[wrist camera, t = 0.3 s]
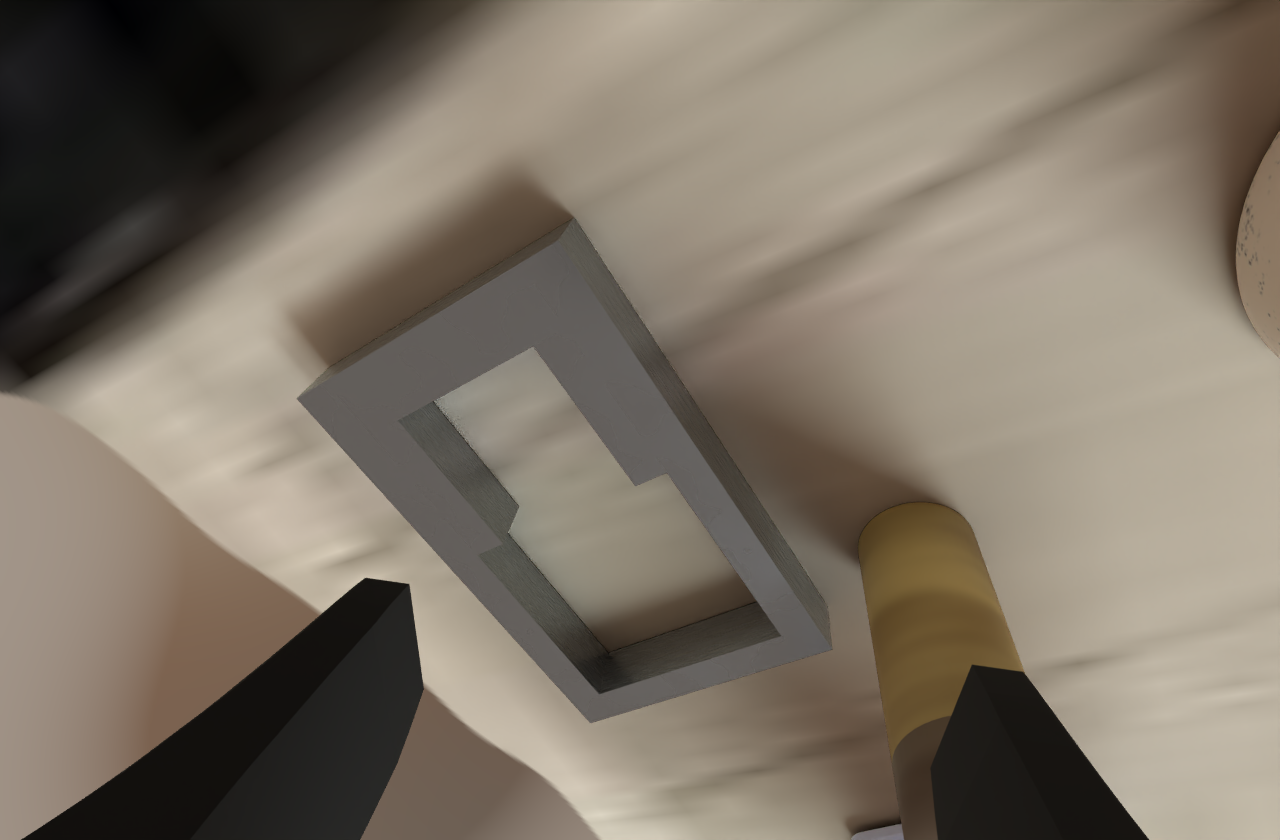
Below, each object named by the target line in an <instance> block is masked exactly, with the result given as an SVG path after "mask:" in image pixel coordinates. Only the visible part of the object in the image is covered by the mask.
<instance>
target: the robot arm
mask: <svg viewBox="0 0 1280 840" xmlns="http://www.w3.org/2000/svg"><path fill="white" fill-rule="evenodd" d="M423 690H424V687H423V680H422V673H421V665H420V658H419V651H418V644H417V636H416V629H415V622H414V615H413V607H412V600H411V593H410V586H409V584H405V583H398V582H391V581H384V580H377V579H370V578H365V579H363V580H362V581H361V582H359V583H358V584H357V585H355V586H354V587H353V588H352V589H351V590H349V591H348V592H347V593H346V594H345V595H343V596H342V597H341V598H340V599H339V600H337V601H336V602H335V603H334V604H333V605H332V606H330V607H329V608H328V609H327V610H326V611H325V612H323V613H322V614H321V615H320V616H319V617H317V618H316V619H315V620H314V621H313V622H312V623H310V624H309V625H308V626H307V627H306V628H305V629H303V630H302V631H301V632H300V633H299V634H298V635H296V636H295V637H294V638H293V639H292V640H290V641H289V642H288V643H287V644H286V645H284V646H283V647H282V648H281V649H280V650H279V651H277V652H276V653H275V654H274V655H272V656H271V657H270V658H269V659H268V660H266V661H265V662H264V663H263V664H261V665H260V666H259V667H258V668H257V669H255V670H254V671H253V672H252V673H250V674H249V675H248V676H247V677H246V678H244V679H243V680H242V681H241V682H239V683H238V684H237V685H236V686H234V687H233V688H232V689H231V690H230V691H228V692H227V693H226V694H225V695H223V696H222V697H221V698H220V699H218V700H217V701H216V702H214V703H213V704H212V705H211V706H210V707H208V708H207V709H206V710H204V711H203V712H202V713H200V714H199V715H198V716H197V717H195V718H194V719H192V720H191V721H190V722H189V723H187V724H186V725H184V726H183V727H182V728H180V729H179V730H178V731H176V732H175V733H174V734H173V735H171V736H170V737H168V738H167V739H166V740H164V741H163V742H162V743H160V744H159V745H158V746H157V747H155V748H154V749H152V750H151V751H150V752H149V753H147V754H146V755H145V756H143V757H142V758H141V759H139V760H138V761H136V762H135V763H134V764H132V765H131V766H129V767H128V768H127V769H126V770H124V771H123V772H121V773H120V774H118V775H117V776H115V777H114V778H113V779H111V780H110V781H108V782H107V783H105V784H104V785H103V786H101V787H100V788H98V789H97V790H95V791H94V792H93V793H91V794H90V795H88V796H87V797H85V798H84V799H82V800H81V801H79V802H78V803H76V804H75V805H73V806H72V807H70V808H69V809H67V810H66V811H64V812H63V813H61V814H60V815H58V816H57V817H55V818H54V819H52V820H51V821H49V822H48V823H46V824H45V825H43V826H42V827H40V828H39V829H37V830H36V831H34V832H32V833H31V834H29V835H28V836H26V837H25V838H23V839H21V840H360V839H361V836H362V835H363V833H364V831H365V829H366V827H367V825H368V823H369V821H370V819H371V817H372V815H373V813H374V811H375V808H376V806H377V804H378V802H379V800H380V798H381V796H382V794H383V792H384V790H385V788H386V786H387V784H388V782H389V780H390V777H391V775H392V773H393V771H394V769H395V767H396V765H397V763H398V760H399V757H400V754H401V751H402V749H403V746H404V744H405V741H406V738H407V736H408V733H409V730H410V727H411V724H412V722H413V719H414V715H415V713H416V710H417V707H418V704H419V701H420V699H421V696H422V693H423ZM930 770H931V781H932V791H933V801H934V812H935V821H936V829H937V837H938V840H1149V839H1148V838H1147V836H1146V835H1145V834H1144V833H1143V831H1142V830H1141V829H1140V827H1139V826H1138V825H1137V824H1136V822H1135V821H1134V820H1133V818H1132V817H1131V816H1130V815H1129V813H1128V812H1127V811H1126V809H1125V808H1124V807H1123V806H1122V804H1121V803H1120V802H1119V800H1118V799H1117V798H1116V796H1115V795H1114V794H1113V792H1112V791H1111V790H1110V788H1109V787H1108V786H1107V784H1106V783H1105V782H1104V780H1103V779H1102V778H1101V776H1100V775H1099V774H1098V772H1097V771H1096V770H1095V768H1094V767H1093V766H1092V764H1091V763H1090V762H1089V760H1088V759H1087V757H1086V756H1085V755H1084V753H1083V752H1082V751H1081V749H1080V748H1079V747H1078V745H1077V744H1076V743H1075V741H1074V740H1073V738H1072V737H1071V736H1070V734H1069V733H1068V732H1067V730H1066V729H1065V728H1064V726H1063V725H1062V723H1061V722H1060V721H1059V719H1058V718H1057V717H1056V715H1055V714H1054V712H1053V711H1052V710H1051V708H1050V707H1049V706H1048V704H1047V703H1046V702H1045V700H1044V699H1043V697H1042V696H1041V695H1040V693H1039V692H1038V691H1037V689H1036V688H1035V687H1034V685H1033V684H1032V683H1031V681H1030V680H1029V679H1028V677H1027V676H1026V675H1025V673H1024V672H1022V671H1015V670H1008V669H1001V668H994V667H986V666H979V665H971V668H970V670H969V673H968V675H967V678H966V680H965V683H964V685H963V688H962V690H961V693H960V695H959V698H958V700H957V703H956V705H955V708H954V710H953V713H952V715H951V718H950V720H949V722H948V725H947V727H946V730H945V732H944V735H943V737H942V740H941V742H940V745H939V747H938V750H937V752H936V755H935V757H934V760H933V762H932V765H931V767H930ZM851 840H904V837H903V831H902V824H898V825H893V826H888V827H883V828H878V829H873V830H868V831H864V832H859V833H856V834H855V835H854V836H853V837H852V839H851Z"/></svg>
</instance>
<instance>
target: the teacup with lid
mask: <svg viewBox="0 0 1280 840" xmlns="http://www.w3.org/2000/svg"><path fill="white" fill-rule="evenodd" d="M1236 270H1237V281H1238V287H1239V291H1240V295H1241V300H1242V303H1243V305H1244V308H1245V311H1246V313H1247V316H1248V318H1249V320H1250V321H1251V323H1252V325H1253V327H1254V329H1255V330H1256V332H1257V333H1258V334H1259V336H1260V337H1261V338H1262V340H1263V341H1264V342H1265V344H1266V345H1267V346H1268V347H1269V348H1270V349H1271V350H1272V351H1273V352H1274V353H1275V354H1276V355H1277V356H1278V357H1279V358H1280V131H1279V132H1278V134H1277V135H1276V137H1275V139H1274V140H1273V142H1272V144H1271V146H1270V147H1269V149H1268V151H1267V152H1266V154H1265V156H1264V158H1263V160H1262V162H1261V164H1260V166H1259V168H1258V170H1257V172H1256V174H1255V177H1254V179H1253V181H1252V184H1251V187H1250V189H1249V192H1248V195H1247V197H1246V200H1245V203H1244V207H1243V211H1242V215H1241V219H1240V222H1239V229H1238V236H1237V242H1236Z"/></svg>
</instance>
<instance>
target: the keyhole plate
mask: <svg viewBox="0 0 1280 840" xmlns="http://www.w3.org/2000/svg"><path fill="white" fill-rule="evenodd" d="M533 346H534V348H535V349H536V351H537V352H538V353H539V355H540V356H541V357H542V359H543V360H544V362H545V363H546V364H547V366H548V367H549V368H550V370H551V371H552V372H553V374H554V375H555V377H556V378H557V379H558V381H559V382H560V383H561V385H562V386H563V388H564V389H565V390H566V392H567V393H568V394H569V396H570V397H571V399H572V400H573V401H574V403H575V404H576V405H577V407H578V408H579V410H580V411H581V412H582V414H583V415H584V416H585V418H586V419H587V421H588V422H589V423H590V425H591V426H592V427H593V429H594V430H595V431H596V433H597V434H598V436H599V437H600V438H601V440H602V441H603V442H604V444H605V445H606V447H607V448H608V449H609V451H610V452H611V453H612V455H613V456H614V458H615V459H616V460H617V462H618V463H619V464H620V466H621V467H622V469H623V470H624V471H625V473H626V474H627V475H628V477H629V478H630V479H631V481H632V482H633V484H634V485H635V486H637V485H640V484H642V483H644V482H646V481H649V480H651V479H653V478H656V477H658V476H660V475H663V474H665V473H667V474H668V475H669V476H670V478H671V479H672V481H673V482H674V484H675V485H676V486H677V488H678V489H679V491H680V492H681V494H682V495H683V496H684V498H685V499H686V501H687V502H688V504H689V505H690V506H691V508H692V509H693V511H694V512H695V514H696V515H697V516H698V518H699V519H700V521H701V522H702V524H703V525H704V526H705V528H706V529H707V531H708V532H709V534H710V535H711V536H712V538H713V539H714V541H715V542H716V543H717V545H718V546H719V548H720V549H721V551H722V552H723V553H724V555H725V556H726V558H727V559H728V561H729V562H730V563H731V565H732V566H733V568H734V569H735V571H736V572H737V573H738V575H739V576H740V578H741V579H742V581H743V582H744V583H745V585H746V586H747V588H748V589H749V591H750V592H751V593H752V595H753V596H754V598H755V599H756V601H757V602H756V603H753V604H750V605H747V606H744V607H741V608H738V609H735V610H732V611H730V612H727V613H724V614H721V615H718V616H715V617H712V618H709V619H706V620H703V621H700V622H697V623H695V624H692V625H689V626H686V627H683V628H680V629H677V630H674V631H671V632H668V633H665V634H662V635H660V636H657V637H654V638H651V639H648V640H645V641H642V642H639V643H636V644H633V645H630V646H627V647H624V648H622V649H619V650H616V651H613V652H610V653H608V652H607V651H606V650H605V649H604V647H603V646H602V645H601V644H600V643H599V641H598V640H597V639H596V638H595V637H594V635H593V634H592V633H591V632H590V631H589V630H588V628H587V627H586V626H585V625H584V624H583V622H582V621H581V620H580V619H579V618H578V617H577V615H576V614H575V613H574V612H573V611H572V609H571V608H570V607H569V606H568V605H567V603H566V602H565V601H564V600H563V599H562V598H561V596H560V595H559V594H558V593H557V592H556V590H555V589H554V588H553V587H552V586H551V584H550V583H549V582H548V581H547V580H546V579H545V577H544V576H543V575H542V574H541V573H540V571H539V570H538V569H537V568H536V567H535V565H534V564H533V563H532V562H531V561H530V560H529V558H528V557H527V556H526V555H525V554H524V552H523V551H522V550H521V549H520V548H519V546H518V545H517V544H516V543H515V542H514V541H513V539H512V538H511V537H510V536H509V535H508V531H509V529H510V526H511V524H512V522H513V520H514V517H515V515H516V513H517V510H518V508H519V506H518V505H517V504H516V503H515V501H514V500H513V499H512V498H511V497H510V495H509V494H508V493H507V492H506V490H505V489H504V488H503V487H502V486H501V484H500V483H499V482H498V481H497V480H496V478H495V477H494V476H493V475H492V473H491V472H490V471H489V470H488V469H487V467H486V466H485V465H484V464H483V462H482V461H481V460H480V459H479V458H478V456H477V455H476V454H475V453H474V451H473V450H472V449H471V448H470V447H469V445H468V444H467V443H466V442H465V440H464V439H463V438H462V437H461V436H460V434H459V433H458V432H457V431H456V429H455V428H454V427H453V426H452V425H451V423H450V422H449V421H448V420H447V418H446V417H445V416H444V415H443V414H442V412H441V411H440V410H439V409H438V407H437V406H436V405H435V404H434V403H433V401H434V400H436V399H438V398H440V397H441V396H443V395H445V394H447V393H449V392H451V391H452V390H454V389H456V388H458V387H460V386H462V385H463V384H465V383H467V382H469V381H471V380H472V379H474V378H476V377H478V376H480V375H482V374H483V373H485V372H487V371H489V370H491V369H493V368H494V367H496V366H498V365H500V364H502V363H503V362H505V361H507V360H509V359H511V358H513V357H514V356H516V355H518V354H520V353H522V352H524V351H525V350H527V349H529V348H531V347H533ZM297 399H298V400H299V402H300V403H301V404H302V405H303V406H304V407H305V408H306V409H307V410H308V411H309V413H310V414H311V415H312V416H313V417H314V418H315V419H316V420H317V421H318V423H319V424H320V425H321V426H322V427H323V428H324V429H325V430H326V431H327V432H328V434H329V435H330V436H331V437H332V438H333V439H334V440H335V441H336V442H337V444H338V445H339V446H340V447H341V448H342V449H343V450H344V451H345V452H346V454H347V455H348V456H349V457H350V458H351V459H352V460H353V461H354V462H355V463H356V465H357V466H358V467H359V468H360V469H361V470H362V471H363V472H364V473H365V475H366V476H367V477H368V478H369V479H370V480H371V481H372V482H373V483H374V484H375V486H376V487H377V488H378V489H379V490H380V491H381V492H382V493H383V494H384V496H385V497H386V498H387V499H388V500H389V501H390V502H391V503H392V504H393V505H394V507H395V508H396V509H397V510H398V511H399V512H400V513H401V514H402V515H403V517H404V518H405V519H406V520H407V521H408V522H409V523H410V524H411V525H412V526H413V528H414V529H415V530H416V531H417V532H418V533H419V534H420V535H421V536H422V538H423V539H424V540H425V541H426V542H427V543H428V544H429V545H430V546H431V547H432V549H433V550H434V551H435V552H436V553H437V554H438V555H439V556H440V557H441V559H442V560H443V561H444V562H445V563H446V564H447V565H448V566H449V567H450V568H451V570H452V571H453V572H454V573H455V574H456V575H457V576H458V577H459V578H460V580H461V581H462V582H463V583H464V584H465V585H466V586H467V587H468V588H469V589H470V591H471V592H472V593H473V594H474V595H475V596H476V597H477V598H478V599H479V601H480V602H481V603H482V604H483V605H484V606H485V607H486V608H487V609H488V610H489V612H490V613H491V614H492V615H493V616H494V617H495V618H496V619H497V620H498V622H499V623H500V624H501V625H502V626H503V627H504V628H505V629H506V630H507V631H508V633H509V634H510V635H511V636H512V637H513V638H514V639H515V640H516V641H517V643H518V644H519V645H520V646H521V647H522V648H523V649H524V650H525V651H526V652H527V654H528V655H529V656H530V657H531V658H532V659H533V660H534V661H535V662H536V664H537V665H538V666H539V667H540V668H541V669H542V670H543V671H544V672H545V673H546V675H547V676H548V677H549V678H550V679H551V680H552V681H553V682H554V683H555V685H556V686H557V687H558V688H559V689H560V690H561V691H562V692H563V693H564V694H565V696H566V697H567V698H568V699H569V700H570V701H571V702H572V703H573V704H574V706H575V707H576V708H577V709H578V710H579V711H580V712H581V713H582V714H583V715H584V717H585V718H586V719H587V720H588V721H589V722H590V723H593V722H596V721H599V720H602V719H606V718H609V717H612V716H616V715H619V714H622V713H625V712H629V711H632V710H635V709H639V708H642V707H645V706H648V705H652V704H655V703H658V702H662V701H665V700H668V699H671V698H675V697H678V696H681V695H685V694H688V693H691V692H694V691H698V690H701V689H704V688H708V687H711V686H714V685H717V684H721V683H724V682H727V681H731V680H734V679H737V678H740V677H744V676H747V675H750V674H754V673H757V672H760V671H763V670H767V669H770V668H773V667H777V666H780V665H783V664H786V663H790V662H793V661H796V660H800V659H803V658H806V657H809V656H813V655H816V654H819V653H822V652H826V651H829V650H832V643H831V633H830V623H829V613H828V606H827V605H826V603H825V602H824V600H823V599H822V597H821V595H820V594H819V592H818V591H817V589H816V588H815V586H814V585H813V583H812V582H811V580H810V579H809V577H808V576H807V574H806V572H805V571H804V569H803V568H802V566H801V565H800V563H799V562H798V560H797V559H796V557H795V556H794V554H793V553H792V551H791V549H790V548H789V546H788V545H787V543H786V542H785V540H784V539H783V537H782V536H781V534H780V533H779V531H778V530H777V528H776V526H775V525H774V523H773V522H772V520H771V519H770V517H769V516H768V514H767V513H766V511H765V510H764V508H763V507H762V505H761V503H760V502H759V500H758V499H757V497H756V496H755V494H754V493H753V491H752V490H751V488H750V487H749V485H748V484H747V482H746V480H745V479H744V477H743V476H742V474H741V473H740V471H739V470H738V468H737V467H736V465H735V464H734V462H733V460H732V459H731V457H730V456H729V454H728V453H727V451H726V450H725V448H724V447H723V445H722V444H721V442H720V441H719V439H718V437H717V436H716V434H715V433H714V431H713V430H712V428H711V427H710V425H709V424H708V422H707V421H706V419H705V418H704V416H703V414H702V413H701V411H700V410H699V408H698V407H697V405H696V404H695V402H694V401H693V399H692V398H691V396H690V395H689V393H688V391H687V390H686V388H685V387H684V385H683V384H682V382H681V381H680V379H679V378H678V376H677V375H676V373H675V372H674V370H673V368H672V367H671V365H670V364H669V362H668V361H667V359H666V358H665V356H664V355H663V353H662V352H661V350H660V349H659V347H658V345H657V344H656V342H655V341H654V339H653V338H652V336H651V335H650V333H649V332H648V330H647V329H646V327H645V326H644V324H643V322H642V321H641V319H640V318H639V316H638V315H637V313H636V312H635V310H634V309H633V307H632V306H631V304H630V302H629V301H628V299H627V298H626V296H625V295H624V293H623V292H622V290H621V289H620V287H619V286H618V284H617V283H616V281H615V279H614V278H613V276H612V275H611V273H610V272H609V270H608V269H607V267H606V266H605V264H604V263H603V261H602V260H601V258H600V256H599V255H598V253H597V252H596V250H595V249H594V247H593V246H592V244H591V243H590V241H589V240H588V238H587V237H586V235H585V233H584V232H583V230H582V229H581V227H580V226H579V224H578V223H577V221H576V220H575V218H573V219H571V220H569V221H568V222H566V223H564V224H563V225H561V226H559V227H558V228H556V229H555V230H553V231H551V232H550V233H548V234H546V235H545V236H543V237H542V238H540V239H538V240H537V241H535V242H533V243H532V244H530V245H528V246H527V247H525V248H524V249H522V250H520V251H519V252H517V253H515V254H514V255H512V256H511V257H509V258H507V259H506V260H504V261H502V262H501V263H499V264H497V265H496V266H494V267H493V268H491V269H489V270H488V271H486V272H484V273H483V274H481V275H480V276H478V277H476V278H475V279H473V280H471V281H470V282H468V283H466V284H465V285H463V286H462V287H460V288H458V289H457V290H455V291H453V292H452V293H450V294H449V295H447V296H445V297H444V298H442V299H440V300H439V301H437V302H435V303H434V304H432V305H431V306H429V307H427V308H426V309H424V310H422V311H421V312H419V313H418V314H416V315H414V316H413V317H411V318H409V319H408V320H406V321H404V322H403V323H401V324H400V325H398V326H396V327H395V328H393V329H391V330H390V331H388V332H387V333H385V334H383V335H382V336H380V337H378V338H377V339H375V340H373V341H372V342H370V343H369V344H367V345H365V346H364V347H362V348H360V349H359V350H357V351H356V352H354V353H352V354H351V355H349V356H347V357H346V358H344V359H342V360H341V361H339V362H338V363H336V364H334V365H333V366H331V367H329V368H328V369H327V370H326V371H325V372H324V373H323V374H322V375H321V376H320V377H318V378H317V379H316V380H315V381H314V382H313V383H312V384H311V385H310V386H309V387H308V388H307V389H306V390H305V391H304V392H303V393H302V394H301V395H300V396H299V397H298V398H297Z"/></svg>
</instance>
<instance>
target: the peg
mask: <svg viewBox="0 0 1280 840" xmlns="http://www.w3.org/2000/svg"><path fill="white" fill-rule="evenodd" d="M858 555H859V561H860V567H861V574H862V580H863V586H864V593H865V599H866V605H867V611H868V618H869V624H870V630H871V636H872V643H873V649H874V655H875V661H876V668H877V674H878V680H879V686H880V693H881V699H882V705H883V712H884V718H885V724H886V730H887V737H888V743H889V749H890V755H891V762H892V768H893V774H894V780H895V787H896V793H897V799H898V806H899V812H900V818H901V824H902V831H903V837H904V840H938V837H937V829H936V821H935V812H934V801H933V791H932V781H931V770H930V767H931V765H932V762H933V760H934V757H935V755H936V752H937V750H938V747H939V745H940V742H941V740H942V737H943V735H944V732H945V730H946V727H947V725H948V722H949V720H950V718H951V715H952V713H953V710H954V708H955V705H956V703H957V700H958V698H959V695H960V693H961V690H962V688H963V685H964V683H965V680H966V678H967V675H968V673H969V670H970V668H971V665H979V666H986V667H994V668H1001V669H1008V670H1015V671H1022V672H1024V670H1023V667H1022V664H1021V661H1020V659H1019V656H1018V653H1017V650H1016V648H1015V645H1014V642H1013V639H1012V637H1011V634H1010V631H1009V628H1008V626H1007V623H1006V620H1005V617H1004V615H1003V612H1002V609H1001V606H1000V604H999V601H998V598H997V595H996V593H995V590H994V587H993V584H992V582H991V579H990V576H989V573H988V571H987V568H986V565H985V562H984V560H983V557H982V554H981V551H980V549H979V546H978V543H977V540H976V538H975V535H974V532H973V530H972V528H971V526H970V524H969V523H968V522H967V521H966V519H965V518H964V517H962V516H961V515H960V514H959V513H957V512H956V511H954V510H952V509H950V508H948V507H945V506H942V505H939V504H934V503H926V502H914V503H906V504H902V505H898V506H895V507H892V508H890V509H887V510H885V511H883V512H882V513H880V514H878V515H877V516H876V517H874V518H873V519H872V520H871V521H870V522H869V523H868V524H867V525H866V527H865V528H864V530H863V531H862V533H861V536H860V538H859V542H858ZM1024 673H1025V672H1024Z"/></svg>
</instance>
